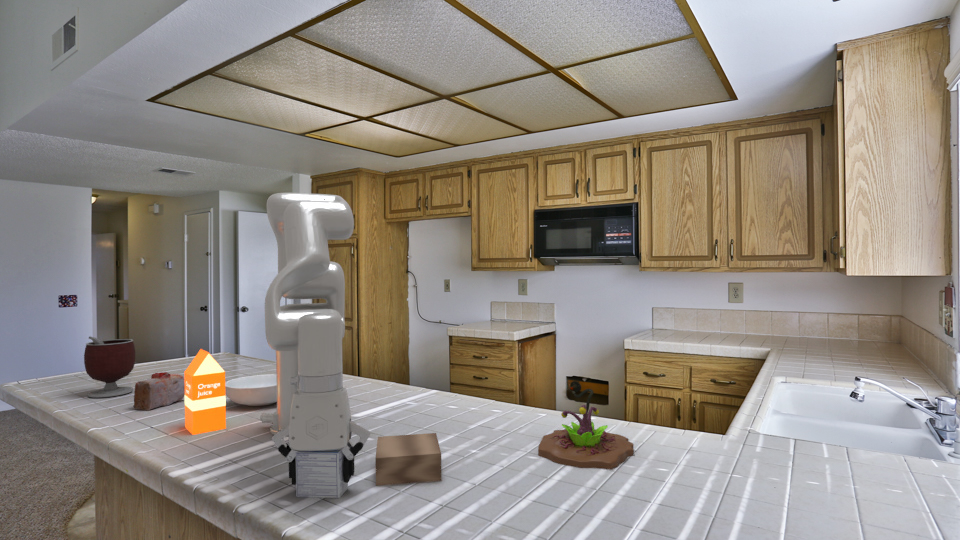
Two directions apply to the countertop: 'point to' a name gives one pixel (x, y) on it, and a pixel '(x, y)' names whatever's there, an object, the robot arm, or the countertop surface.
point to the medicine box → (320, 474)
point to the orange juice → (204, 395)
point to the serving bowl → (252, 390)
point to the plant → (585, 444)
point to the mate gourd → (109, 364)
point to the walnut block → (408, 459)
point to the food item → (158, 391)
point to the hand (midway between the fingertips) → (322, 480)
